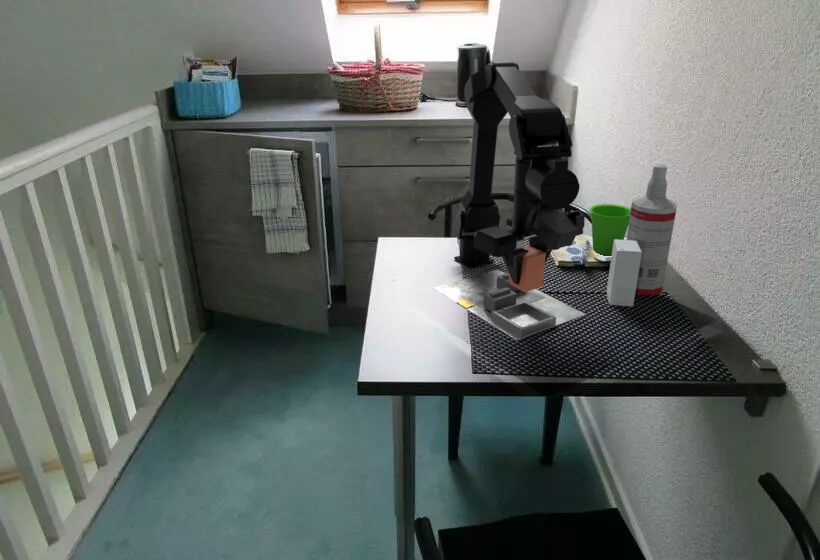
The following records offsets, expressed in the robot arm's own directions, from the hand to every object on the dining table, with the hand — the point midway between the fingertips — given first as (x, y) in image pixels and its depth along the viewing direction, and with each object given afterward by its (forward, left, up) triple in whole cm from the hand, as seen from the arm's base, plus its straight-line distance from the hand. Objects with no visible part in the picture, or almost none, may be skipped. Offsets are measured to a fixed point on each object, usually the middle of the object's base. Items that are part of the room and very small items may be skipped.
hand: (525, 280), depth 99 cm
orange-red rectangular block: (0, 0, -1) cm, 1 cm away
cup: (-14, +37, -10) cm, 41 cm away
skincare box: (+3, +21, -10) cm, 23 cm away
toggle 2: (-6, 0, -7) cm, 10 cm away
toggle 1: (-11, +7, -7) cm, 15 cm away
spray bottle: (+2, +28, -10) cm, 30 cm away
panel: (-8, +3, -9) cm, 13 cm away
